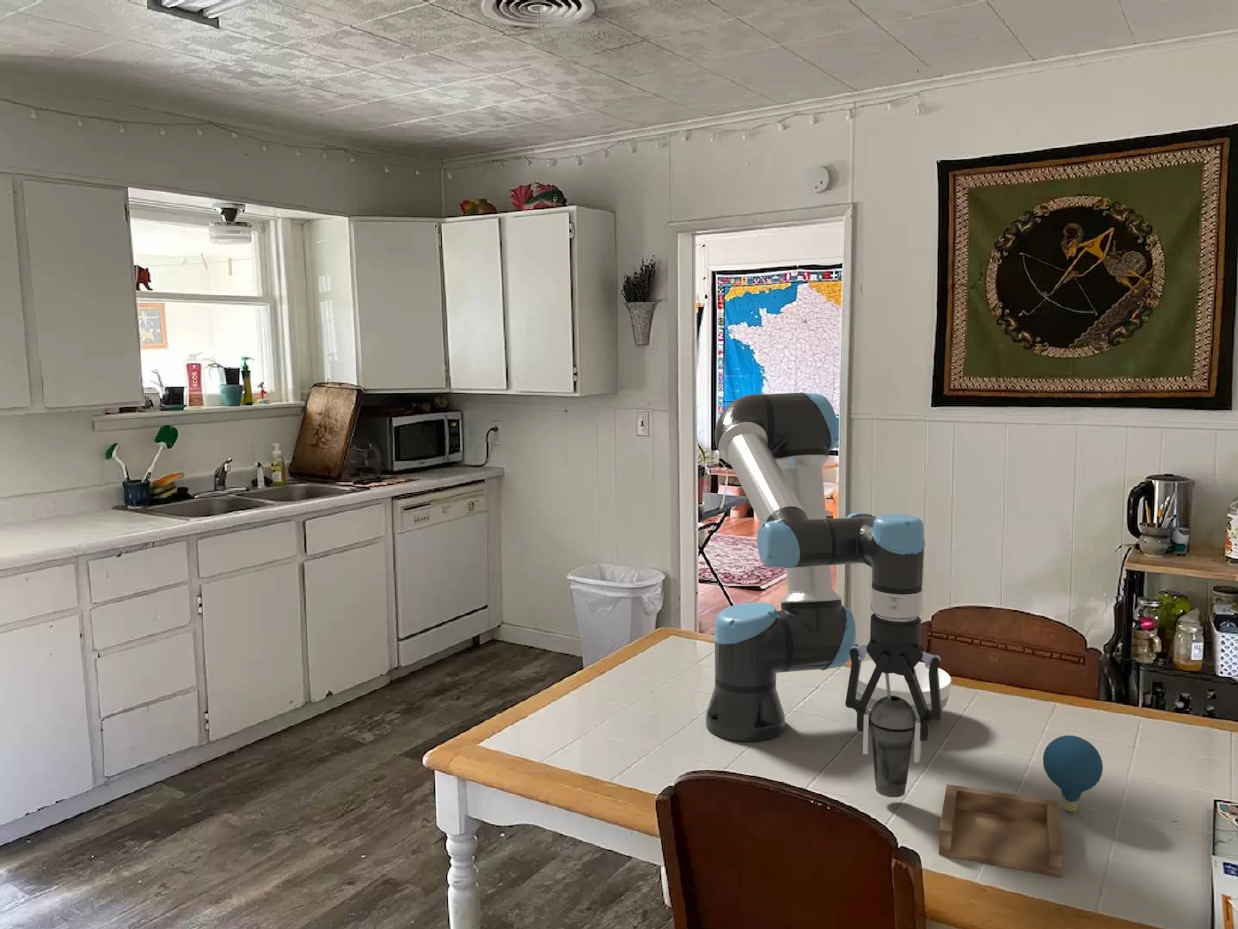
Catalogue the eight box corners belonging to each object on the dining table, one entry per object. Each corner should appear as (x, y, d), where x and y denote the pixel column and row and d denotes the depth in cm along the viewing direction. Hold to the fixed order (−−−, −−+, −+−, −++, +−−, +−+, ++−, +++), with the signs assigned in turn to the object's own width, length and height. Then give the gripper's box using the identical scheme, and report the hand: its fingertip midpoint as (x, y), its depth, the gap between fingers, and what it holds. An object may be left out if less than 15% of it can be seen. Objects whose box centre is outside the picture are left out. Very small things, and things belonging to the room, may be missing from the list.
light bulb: (1030, 799, 150) (1033, 728, 148) (1080, 797, 151) (1083, 725, 149) (1059, 826, 142) (1062, 750, 140) (1112, 823, 142) (1116, 747, 141)
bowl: (842, 729, 179) (843, 685, 178) (857, 694, 196) (857, 654, 195) (947, 743, 172) (948, 697, 171) (952, 706, 189) (953, 664, 188)
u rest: (938, 854, 134) (939, 829, 134) (946, 806, 148) (946, 784, 148) (1061, 877, 128) (1062, 851, 128) (1057, 825, 142) (1058, 801, 141)
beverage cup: (916, 804, 145) (921, 680, 142) (868, 799, 146) (871, 677, 144) (911, 781, 152) (916, 663, 149) (865, 778, 154) (869, 661, 151)
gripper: (826, 614, 146) (823, 754, 149) (963, 629, 138) (957, 776, 141) (835, 601, 152) (832, 735, 156) (965, 614, 145) (959, 755, 148)
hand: (891, 754), depth 148 cm, fingers closed on beverage cup, 7 cm apart
